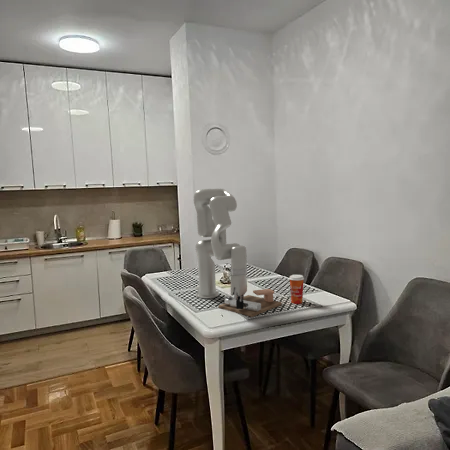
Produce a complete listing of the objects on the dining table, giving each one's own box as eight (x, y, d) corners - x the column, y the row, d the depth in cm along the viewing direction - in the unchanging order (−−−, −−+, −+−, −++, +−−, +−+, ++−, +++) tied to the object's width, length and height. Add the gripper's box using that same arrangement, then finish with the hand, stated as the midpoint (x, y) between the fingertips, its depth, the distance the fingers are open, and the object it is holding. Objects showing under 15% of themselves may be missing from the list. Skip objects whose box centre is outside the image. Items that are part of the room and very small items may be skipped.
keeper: (257, 305, 204) (257, 293, 204) (253, 302, 210) (253, 290, 209) (274, 303, 207) (274, 291, 206) (269, 300, 213) (269, 288, 212)
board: (218, 307, 203) (218, 305, 203) (248, 297, 220) (248, 294, 220) (252, 317, 188) (252, 314, 188) (281, 304, 206) (281, 302, 205)
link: (222, 305, 202) (222, 297, 202) (228, 302, 206) (228, 295, 206) (256, 311, 191) (256, 304, 190) (261, 309, 195) (261, 301, 194)
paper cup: (286, 303, 208) (286, 276, 206) (293, 299, 214) (292, 273, 213) (301, 305, 203) (300, 278, 202) (306, 301, 210) (306, 275, 208)
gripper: (238, 267, 201) (239, 303, 203) (225, 274, 188) (226, 312, 189) (252, 268, 198) (253, 305, 199) (239, 275, 184) (240, 314, 186)
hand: (240, 308), depth 194 cm, fingers closed
